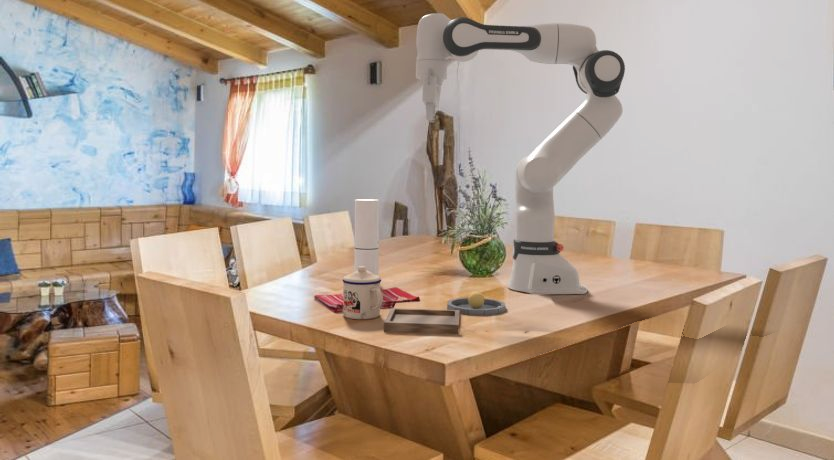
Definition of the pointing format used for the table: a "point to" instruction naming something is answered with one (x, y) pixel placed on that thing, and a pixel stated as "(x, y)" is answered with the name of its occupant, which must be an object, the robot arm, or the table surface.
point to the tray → (422, 321)
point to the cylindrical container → (366, 235)
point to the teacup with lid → (362, 295)
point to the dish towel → (389, 301)
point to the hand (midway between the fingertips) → (430, 121)
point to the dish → (487, 309)
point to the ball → (476, 300)
